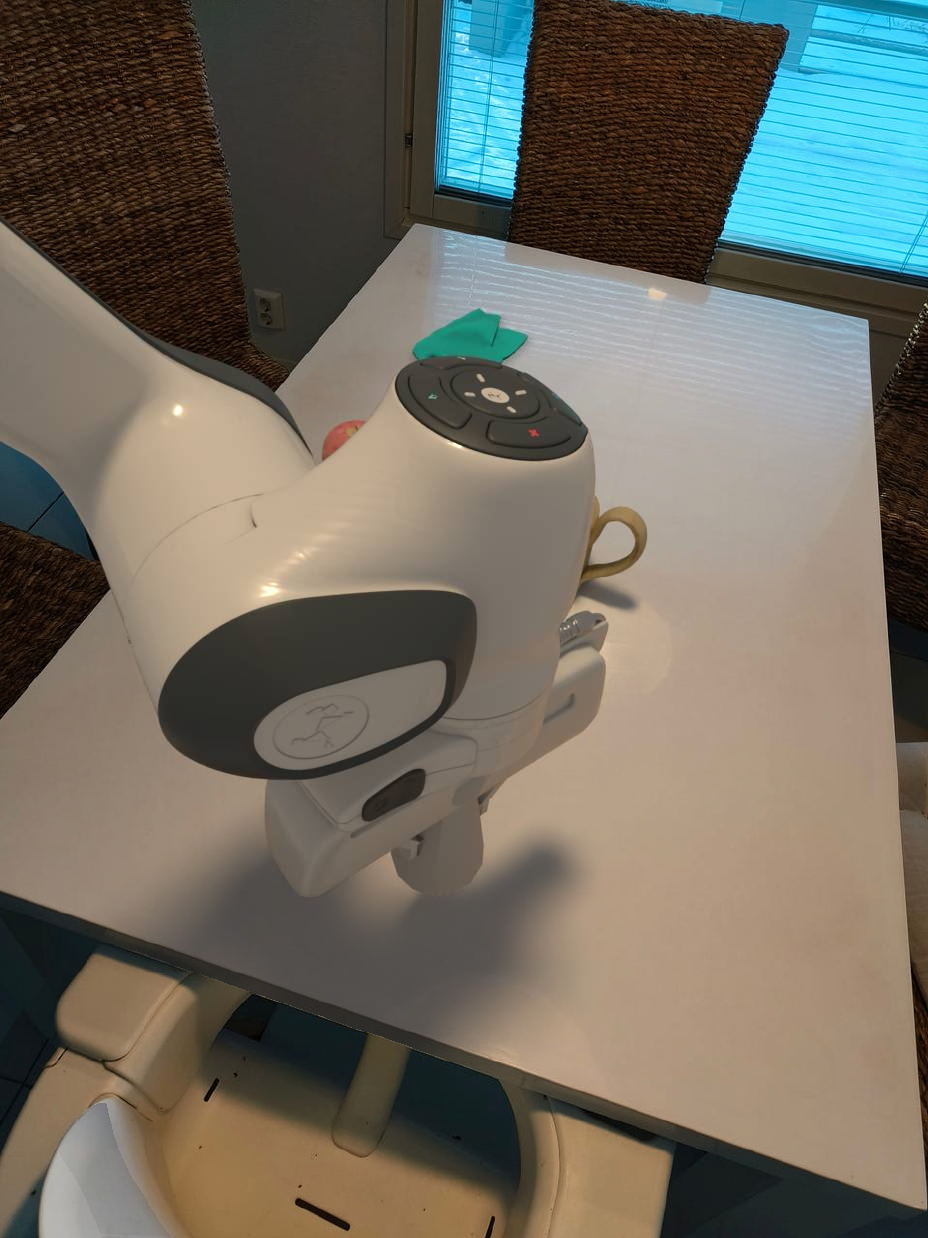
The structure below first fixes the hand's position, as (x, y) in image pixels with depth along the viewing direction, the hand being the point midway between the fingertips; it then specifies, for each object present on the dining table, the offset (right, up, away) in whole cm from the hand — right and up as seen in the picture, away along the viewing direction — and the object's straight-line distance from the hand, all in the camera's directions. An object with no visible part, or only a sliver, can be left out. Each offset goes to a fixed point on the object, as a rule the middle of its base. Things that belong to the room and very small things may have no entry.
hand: (439, 827), depth 51 cm
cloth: (+2, +46, +60) cm, 76 cm away
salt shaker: (0, -4, +4) cm, 5 cm away
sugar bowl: (+10, +17, +34) cm, 40 cm away
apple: (-10, +27, +41) cm, 50 cm away
